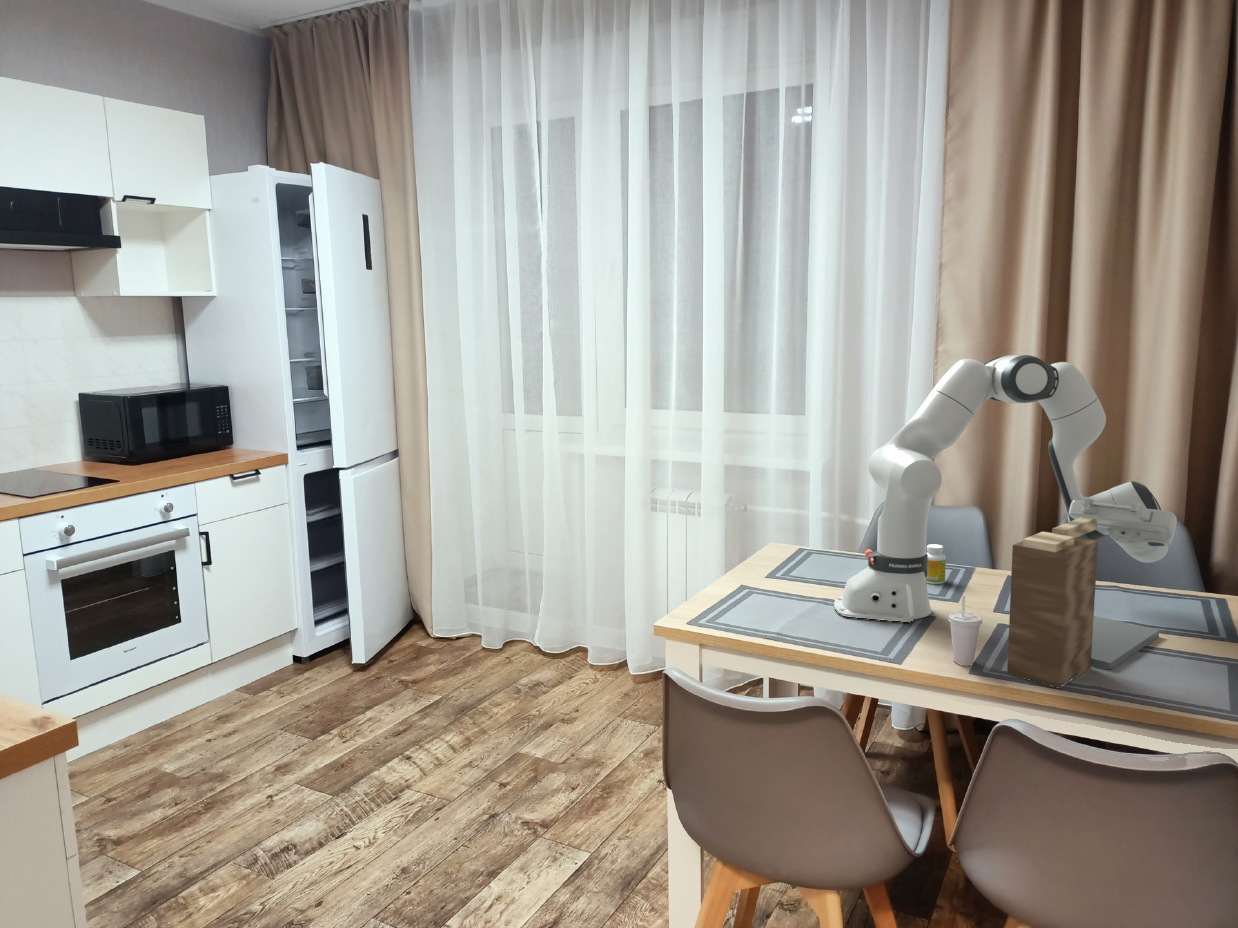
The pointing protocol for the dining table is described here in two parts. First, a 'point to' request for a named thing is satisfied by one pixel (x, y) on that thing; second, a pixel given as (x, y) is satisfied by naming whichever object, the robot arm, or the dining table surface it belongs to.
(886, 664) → the dining table surface
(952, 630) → the smoothie
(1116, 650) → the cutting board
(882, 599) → the robot arm
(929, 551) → the supplement bottle
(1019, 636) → the walnut stand
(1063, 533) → the stepped light wood bar
